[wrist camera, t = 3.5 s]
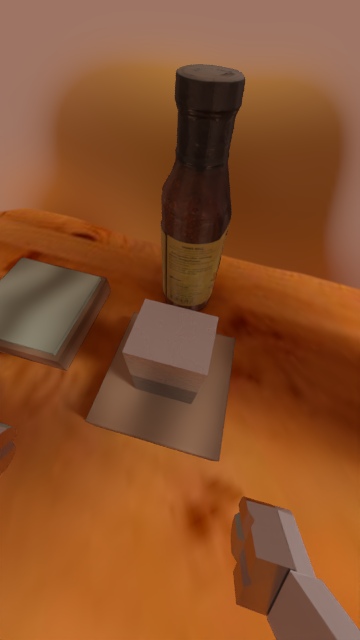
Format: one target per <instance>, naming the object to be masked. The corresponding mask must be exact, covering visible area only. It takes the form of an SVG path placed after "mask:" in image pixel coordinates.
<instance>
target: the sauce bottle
mask: <svg viewBox="0 0 360 640" xmlns="http://www.w3.org/2000/svg"><path fill="white" fill-rule="evenodd" d="M244 85H245V77H244V75H243V74H242V73H241V72H239V71H238V70H234V69H230V68H225V67H220V66H214V65H203V64H198V65H187V66H183V67H180V68H179V69H177V72H176V84H175V101H176V105H177V109H178V128H177V147H176V150H175V151H176V160H175V163H174V166H173V169H172V171H171V173H170V175H169V176H168V178H167V180H166V182H165V183H164V185H163V188H162V190H163V192H162V221H161V245H162V279H163V292H164V296H165V299H166V301H167V303H168V304H169V305H173V306H177V307H181V308H185V309H189V310H193V311H198V310H200V309H202V308H203V307H204V306H205V305H206V304H207V302H208V300H209V298H210V296H211V294H212V291H213V287H214V283H215V279H216V275H217V271H218V268H219V264H220V260H221V254H222V251H223V247H224V243H225V238H226V235H227V232H228V227H229V223H230V219H231V200H230V185H229V171H228V158H229V149H230V143H231V139H232V133H233V129H234V122H235V117H236V114H237V112H238V111H239V108H240V107H241V104H242V97H243V92H244Z"/></svg>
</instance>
